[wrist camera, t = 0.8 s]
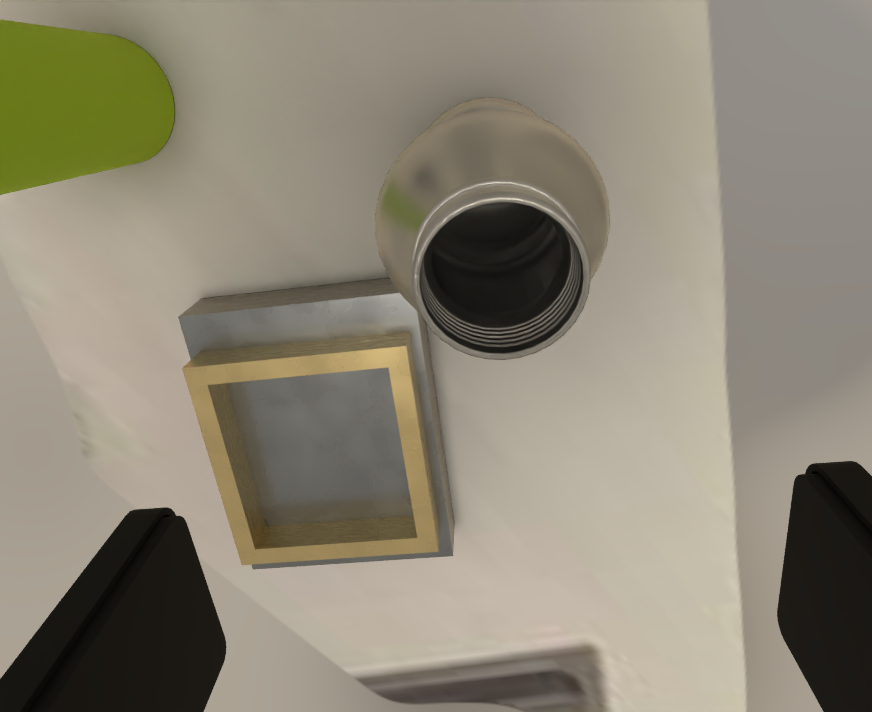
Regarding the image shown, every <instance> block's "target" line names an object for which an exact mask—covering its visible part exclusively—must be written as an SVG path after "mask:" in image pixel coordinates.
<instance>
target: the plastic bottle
mask: <svg viewBox="0 0 872 712" xmlns="http://www.w3.org/2000/svg"><path fill="white" fill-rule="evenodd" d="M375 216H376V240H377V245H378V250H379V254H380V258H381V260H382V263H383V265H384V267H385V270H386V272H387V274H388V276H389V278H390V279H391V281H392V282H393V284H394V285H395V287H396V288H397V289H398V291H399V292H400V294H401V295H402V296H403V298H404V299H405V300H406V301H407V302H408V303H409V304H410V305H411V306H413V307H414V308H415V309H416V310H417V311H418V312H419V313H420V314H421V315H422V317H423V318H424V320H425V321H426V323H427V324H428V326H429V327H430V329H431V330H432V331H433V332H434V333H435V334H436V335H437V336H438V337H439V338H440V339H441V340H442V341H444V342H445V343H447V344H449V345H450V346H452V347H453V348H455V349H456V350H459V351H461V352H463V353H466V354H468V355H471V356H475V357H480V358H484V359H495V360H506V359H514V358H521V357H524V356H527V355H530V354H534V353H536V352H538V351H540V350H542V349H544V348H546V347H548V346H550V345H551V344H553V343H554V342H555V341H557V340H558V339H559V338H561V337H562V336H563V335H564V334H565V333H566V332H567V331H568V330H569V329H570V328H571V327H572V325H573V324H574V323H575V322H576V320H577V318H578V317H579V315H580V313H581V312H582V310H583V308H584V305H585V302H586V300H587V297H588V294H589V287H590V281H591V279H592V277H593V276H594V274H595V272H596V271H597V269H598V267H599V265H600V263H601V260H602V257H603V254H604V251H605V248H606V246H607V240H608V233H609V226H610V216H609V201H608V197H607V194H606V190H605V187H604V183H603V180H602V177H601V175H600V173H599V172H598V170H597V168H596V166H595V164H594V162H593V160H592V159H591V157H590V156H589V155H588V154H587V153H586V151H585V150H584V149H583V148H582V147H581V146H580V144H579V143H578V142H577V141H576V140H575V139H574V138H572V137H571V136H570V135H568V134H567V133H566V132H564V131H563V130H562V129H560V128H559V127H558V126H556V125H554V124H552V123H550V122H547V121H545V120H543V119H541V118H540V117H539V116H537V115H536V114H535V113H533V112H532V111H531V110H529V109H528V108H526V107H524V106H522V105H520V104H518V103H516V102H513V101H508V100H504V99H500V98H481V99H475V100H469V101H467V102H464V103H462V104H459V105H456V106H454V107H453V108H451V109H450V110H448V111H447V112H445V113H443V114H442V115H441V116H440V117H439V118H438V119H437V120H436V121H435V122H434V123H433V124H432V125H431V126H430V127H429V129H428V130H427V131H426V132H424V133H422V134H421V135H419V136H418V137H417V138H416V139H415V140H414V141H413V142H412V143H411V144H410V145H409V146H408V147H407V148H406V149H405V150H404V151H403V152H402V153H401V154H400V156H399V157H398V159H397V160H396V162H395V163H394V165H393V166H392V167H391V169H390V170H389V172H388V174H387V177H386V179H385V181H384V184H383V186H382V188H381V191H380V194H379V199H378V204H377V209H376V214H375Z"/></svg>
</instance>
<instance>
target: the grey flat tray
mask: <svg viewBox="0 0 872 712" xmlns="http://www.w3.org/2000/svg"><path fill="white" fill-rule="evenodd" d="M179 321H180V324H181V328H182V331H183V334H184V338H185V341H186V344H187V348H188V351H189V355H190V358H191V360H190V361H189V362H188V363H187V364H186V365H185V366H184V367H183V368H182V369H183V372H184V376H185V379H186V382H187V386H188V389H189V392H190V396H191V399H192V402H193V405H194V409H195V412H196V415H197V419H198V422H199V425H200V428H201V432H202V435H203V438H204V442H205V445H206V448H207V452H208V455H209V458H210V461H211V465H212V468H213V471H214V475H215V478H216V481H217V485H218V488H219V491H220V494H221V498H222V501H223V504H224V508H225V511H226V514H227V518H228V521H229V524H230V527H231V531H232V534H233V537H234V541H235V544H236V547H237V551H238V554H239V557H240V560H241V564H242V565H251V564H252V568H253V569H265V568H280V567H295V566H310V565H325V564H340V563H355V562H369V561H384V560H399V559H414V558H429V557H444V556H453V545H454V517H453V510H452V503H451V496H450V489H449V482H448V475H447V468H446V461H445V454H444V447H443V440H442V433H441V425H440V418H439V411H438V404H437V397H436V390H435V383H434V376H433V369H432V362H431V355H430V348H429V341H428V334H427V327H426V321H425V320H424V318H423V317H422V315H421V314H420V313H419V312H418V311H417V310H416V309H415V308H414V307H413V306H411V305H410V304H409V303H408V302H407V301H406V300H405V299H404V298H403V296H402V295H401V294H400V292H399V291H398V289H397V288H396V287H395V285H394V284H393V282H392V281H391V279H390V278H384V279H375V280H366V281H357V282H348V283H339V284H330V285H321V286H312V287H303V288H294V289H284V290H275V291H266V292H257V293H248V294H239V295H230V296H221V297H212V298H203V299H200V300H199V301H198V302H197V303H195V304H194V305H193V306H192V307H190V308H189V309H188V310H186V311H185V312H184V313H183V314H181V315H180V316H179Z"/></svg>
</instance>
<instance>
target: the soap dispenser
mask: <svg viewBox="0 0 872 712" xmlns="http://www.w3.org/2000/svg"><path fill="white" fill-rule="evenodd" d="M174 115H175V109H174V100H173V95H172V91H171V88H170V85H169V83H168V80H167V78H166V76H165V75H164V73H163V71H162V70H161V68H160V67H159V65H158V64H157V63H156V61H155V60H154V59H153V58H152V57H151V56H150V55H149V54H148V53H147V52H146V51H145V50H143V49H142V48H141V47H139V46H138V45H136V44H135V43H133V42H131V41H129V40H127V39H124V38H121V37H118V36H114V35H108V34H101V33H93V32H86V31H79V30H72V29H65V28H57V27H50V26H43V25H36V24H28V23H21V22H14V21H7V20H0V195H2V194H6V193H10V192H15V191H19V190H23V189H28V188H32V187H36V186H40V185H45V184H49V183H53V182H58V181H62V180H66V179H71V178H75V177H79V176H84V175H88V174H92V173H97V172H101V171H105V170H109V169H114V168H118V167H122V166H127V165H131V164H135V163H139V162H143V161H145V160H147V159H149V158H151V157H153V156H154V155H155V154H157V153H158V152H159V151H160V150H161V149H162V148H163V146H164V145H165V144H166V142H167V140H168V139H169V136H170V134H171V131H172V128H173V124H174Z"/></svg>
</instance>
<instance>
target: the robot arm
mask: <svg viewBox="0 0 872 712" xmlns="http://www.w3.org/2000/svg"><path fill="white" fill-rule="evenodd" d="M777 613H778V614H777V617H778V623H779V628H780V631H781V634H782V636H783V638H784V640H785V642H786V644H787V646H788V648H789V649H790V651H791V653H792V655H793V657H794V658H795V660H796V662H797V664H798V666H799V668H800V669H801V671H802V673H803V675H804V677H805V679H806V680H807V682H808V684H809V686H810V688H811V689H812V691H813V693H814V695H815V697H816V699H817V700H818V702H819V704H820V706H821V708H822V709H823V711H824V712H872V476H871V475H870V474H869V473H868V472H867V471H866V470H865V469H864V468H863V467H862V466H861V465H860V464H858V463H857V462H853V461H846V462H831V463H816V464H811V465H809V467H808V468H807V470H806V473H805V474H802V475H798V476H797V477H796V478H795V481H794V487H793V494H792V502H791V509H790V517H789V525H788V533H787V540H786V548H785V556H784V564H783V571H782V579H781V587H780V594H779V603H778V611H777ZM225 654H226V641H225V636H224V633H223V630H222V627H221V624H220V621H219V618H218V615H217V613H216V609H215V606H214V603H213V600H212V598H211V594H210V592H209V589H208V586H207V583H206V580H205V577H204V574H203V571H202V568H201V565H200V562H199V559H198V556H197V553H196V550H195V547H194V544H193V541H192V538H191V535H190V532H189V529H188V526H187V523H186V521H185V519H184V518H183V517H181V516H176V515H175V512H174V511H173V510H172V509H170V508H153V509H138V510H133V511H130V512H129V513H128V514H127V515H126V516H125V517H124V519H123V520H122V521H121V523H120V524H119V525H118V527H117V528H116V529H115V530H114V532H113V533H112V534H111V536H110V537H109V538H108V540H107V541H106V542H105V543H104V545H103V546H102V547H101V549H100V550H99V551H98V553H97V554H96V555H95V557H94V558H93V559H92V560H91V562H90V563H89V564H88V566H87V567H86V568H85V569H84V571H83V572H82V573H81V575H80V576H79V577H78V579H77V580H76V581H75V583H74V584H73V585H72V586H71V588H70V589H69V590H68V592H67V593H66V594H65V596H64V597H63V598H62V599H61V601H60V602H59V603H58V605H57V606H56V607H55V609H54V610H53V611H52V612H51V614H50V615H49V616H48V618H47V619H46V620H45V622H44V623H43V624H42V626H41V627H40V628H39V629H38V631H37V632H36V633H35V635H34V636H33V637H32V639H31V640H30V641H29V642H28V644H27V645H26V647H25V648H24V649H23V650H22V652H21V653H20V654H19V656H18V657H17V658H16V659H15V661H14V662H13V664H12V665H11V666H10V667H9V669H8V670H7V671H6V672H5V674H4V675H3V676H2V678H1V679H0V712H203V711H204V709H205V707H206V704H207V702H208V699H209V697H210V695H211V692H212V690H213V687H214V685H215V682H216V680H217V678H218V675H219V673H220V670H221V668H222V665H223V663H224V660H225Z"/></svg>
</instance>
